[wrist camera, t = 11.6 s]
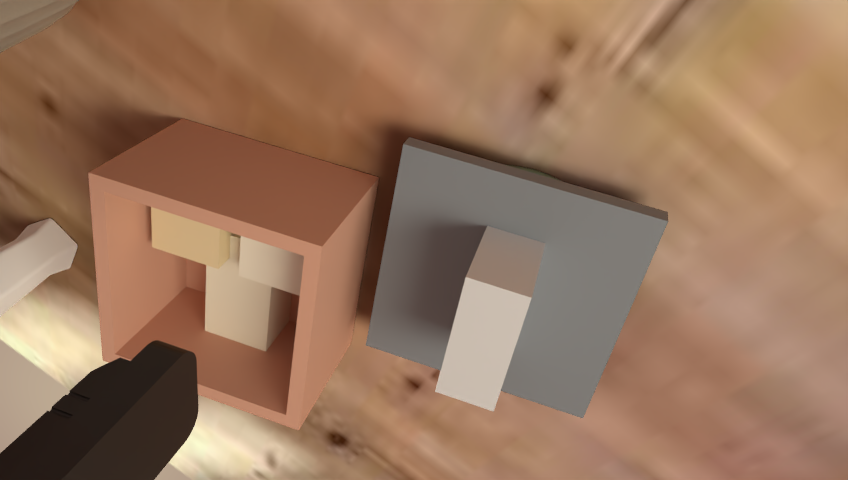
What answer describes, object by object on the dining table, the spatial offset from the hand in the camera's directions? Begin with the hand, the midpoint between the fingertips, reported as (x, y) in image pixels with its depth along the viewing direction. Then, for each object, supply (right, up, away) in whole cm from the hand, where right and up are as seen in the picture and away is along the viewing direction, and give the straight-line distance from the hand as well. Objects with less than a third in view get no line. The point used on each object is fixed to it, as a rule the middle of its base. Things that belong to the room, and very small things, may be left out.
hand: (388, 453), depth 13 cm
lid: (+5, +2, +25) cm, 25 cm away
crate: (-9, +4, +30) cm, 31 cm away
